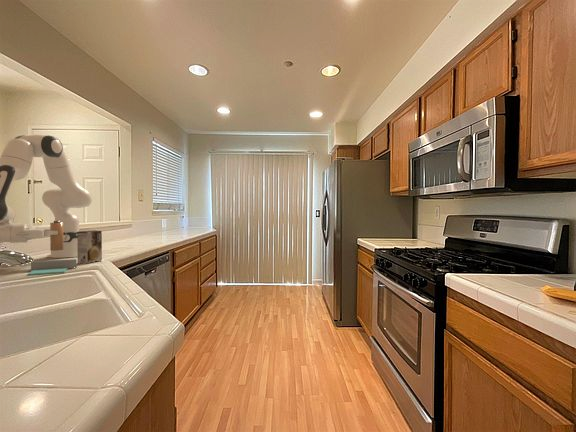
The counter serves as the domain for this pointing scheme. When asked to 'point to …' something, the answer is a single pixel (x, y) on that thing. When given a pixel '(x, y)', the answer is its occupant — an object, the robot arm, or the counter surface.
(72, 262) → the acrylic wall
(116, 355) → the counter surface
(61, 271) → the pad
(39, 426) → the counter surface
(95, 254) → the coffee box
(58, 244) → the amber bottle
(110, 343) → the counter surface
